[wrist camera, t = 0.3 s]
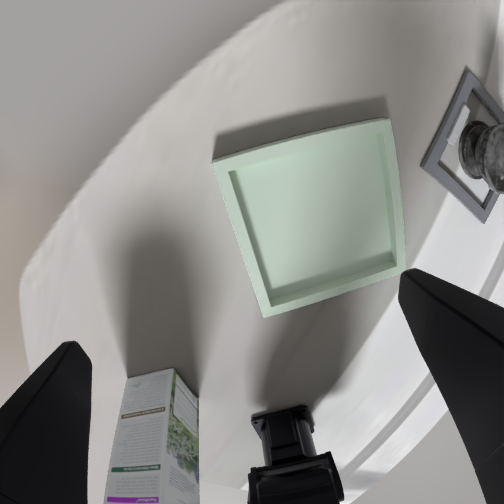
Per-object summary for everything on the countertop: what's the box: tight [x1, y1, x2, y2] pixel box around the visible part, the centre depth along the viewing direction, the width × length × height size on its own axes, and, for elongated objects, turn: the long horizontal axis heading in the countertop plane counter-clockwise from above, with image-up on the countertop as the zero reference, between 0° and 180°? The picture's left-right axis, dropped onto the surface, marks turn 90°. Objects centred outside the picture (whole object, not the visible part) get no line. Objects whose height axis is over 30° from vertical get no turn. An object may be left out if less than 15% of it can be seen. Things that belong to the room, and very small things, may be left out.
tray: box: [211, 118, 406, 318], centre depth 21 cm, size 12×12×2 cm
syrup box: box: [104, 368, 200, 504], centre depth 22 cm, size 6×6×14 cm
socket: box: [420, 71, 504, 224], centre depth 20 cm, size 10×10×1 cm
